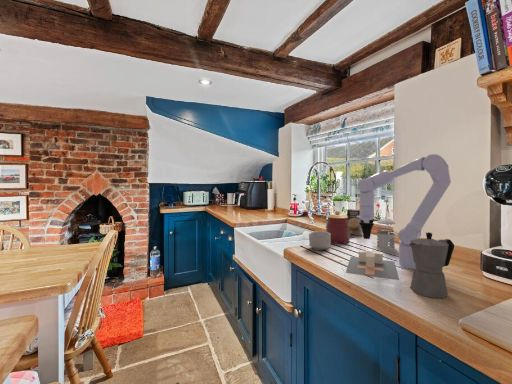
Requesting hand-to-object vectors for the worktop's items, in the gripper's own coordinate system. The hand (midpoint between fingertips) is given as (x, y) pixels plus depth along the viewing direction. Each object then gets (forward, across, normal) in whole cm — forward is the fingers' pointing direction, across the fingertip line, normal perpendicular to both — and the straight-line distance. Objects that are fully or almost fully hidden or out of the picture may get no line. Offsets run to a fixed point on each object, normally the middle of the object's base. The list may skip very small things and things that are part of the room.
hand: (366, 237), depth 108 cm
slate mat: (+9, +12, +2) cm, 16 cm away
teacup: (+9, -10, -22) cm, 26 cm away
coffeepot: (+10, +28, +18) cm, 35 cm away
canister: (+9, -29, -16) cm, 35 cm away
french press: (+10, -21, +9) cm, 24 cm away
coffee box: (+9, -54, -8) cm, 55 cm away
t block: (+9, +9, +1) cm, 13 cm away
